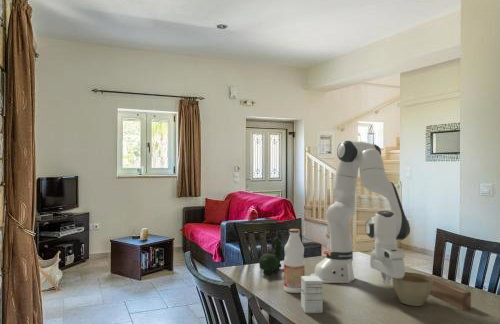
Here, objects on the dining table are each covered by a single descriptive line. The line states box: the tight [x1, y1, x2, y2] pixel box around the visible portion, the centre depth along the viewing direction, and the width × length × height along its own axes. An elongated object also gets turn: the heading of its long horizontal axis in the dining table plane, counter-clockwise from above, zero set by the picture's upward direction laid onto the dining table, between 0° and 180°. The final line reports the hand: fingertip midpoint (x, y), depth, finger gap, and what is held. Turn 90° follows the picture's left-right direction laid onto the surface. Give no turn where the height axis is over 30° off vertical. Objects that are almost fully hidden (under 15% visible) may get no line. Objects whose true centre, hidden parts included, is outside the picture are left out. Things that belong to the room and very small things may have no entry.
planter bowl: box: [391, 271, 433, 307], centre depth 170 cm, size 16×16×11 cm
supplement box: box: [300, 275, 324, 314], centre depth 160 cm, size 7×7×13 cm
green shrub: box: [258, 236, 284, 276], centre depth 215 cm, size 9×19×25 cm
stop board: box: [428, 275, 472, 311], centre depth 173 cm, size 4×24×7 cm, turn 12°
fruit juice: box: [283, 228, 306, 294], centre depth 185 cm, size 9×9×28 cm
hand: (386, 283), depth 167 cm, fingers closed
